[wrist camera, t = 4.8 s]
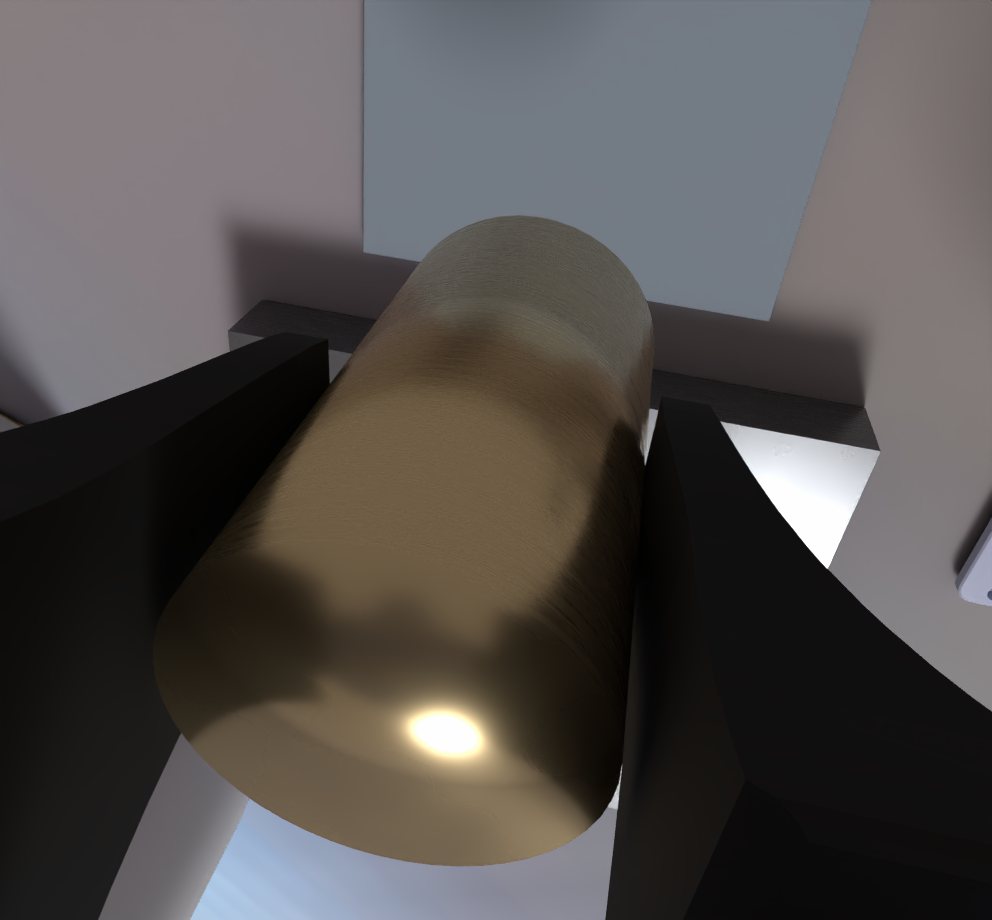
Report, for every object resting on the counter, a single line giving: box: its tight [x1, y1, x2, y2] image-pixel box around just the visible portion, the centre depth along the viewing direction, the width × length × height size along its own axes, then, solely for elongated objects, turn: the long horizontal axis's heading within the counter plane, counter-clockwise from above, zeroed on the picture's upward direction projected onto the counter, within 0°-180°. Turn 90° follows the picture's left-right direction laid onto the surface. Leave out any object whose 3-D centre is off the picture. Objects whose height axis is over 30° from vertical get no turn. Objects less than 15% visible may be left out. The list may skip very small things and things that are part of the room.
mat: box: [363, 0, 872, 321], centre depth 17 cm, size 10×10×1 cm
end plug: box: [153, 215, 654, 866], centre depth 11 cm, size 4×4×8 cm
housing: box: [228, 300, 881, 809], centre depth 25 cm, size 16×16×2 cm
